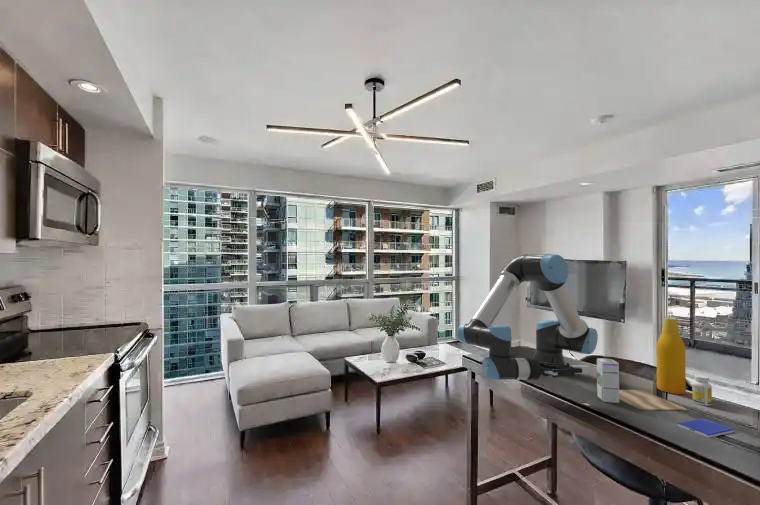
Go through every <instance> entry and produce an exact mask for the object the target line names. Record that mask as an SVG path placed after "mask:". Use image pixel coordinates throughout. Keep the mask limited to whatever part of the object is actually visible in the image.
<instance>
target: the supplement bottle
mask: <svg viewBox="0 0 760 505" xmlns="http://www.w3.org/2000/svg"><path fill="white" fill-rule="evenodd" d="M709 382H710V378H709V377H708V376H706V375H702V374H701V375H700V374H695V375H694V380H693V381H692V382H691V384H692V385H691V386H692V387H691V390H692V391H691V394H692V403H694V404H696V405H700V406H706V407H709V406H710V407H711V406H712V405H713V396H712V395H713V392H712V384H710V383H709Z"/></svg>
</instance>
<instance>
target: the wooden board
mask: <svg viewBox="0 0 760 505" xmlns="http://www.w3.org/2000/svg"><path fill="white" fill-rule="evenodd" d="M619 401H621V402H623V403H624V404H628V406H631V407H632V408H635V409H637V410H638V411H676V412H678V411H685V412H686V411H688V409H687V408H685V407H683V406H681V405H678V404H676V403H675V402H674V403H673V402H671V401H669V400H667V399H664V398H662V397H660V396H658V395H655V394H654V393H653V394H652V393H651V392H648V391H646V390H643V389H619Z"/></svg>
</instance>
